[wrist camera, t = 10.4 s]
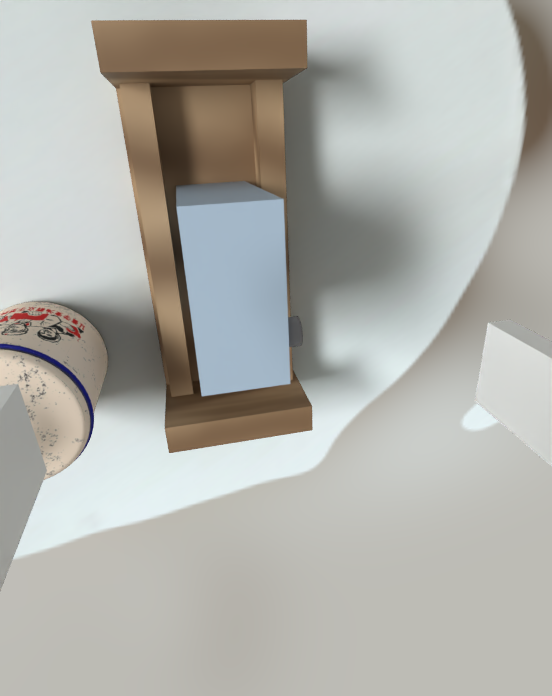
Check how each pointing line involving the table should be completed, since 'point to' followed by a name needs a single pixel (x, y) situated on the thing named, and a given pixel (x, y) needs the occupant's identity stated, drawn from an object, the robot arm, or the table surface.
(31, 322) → the teacup with lid
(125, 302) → the table surface
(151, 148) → the track
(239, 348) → the blue box with knob
